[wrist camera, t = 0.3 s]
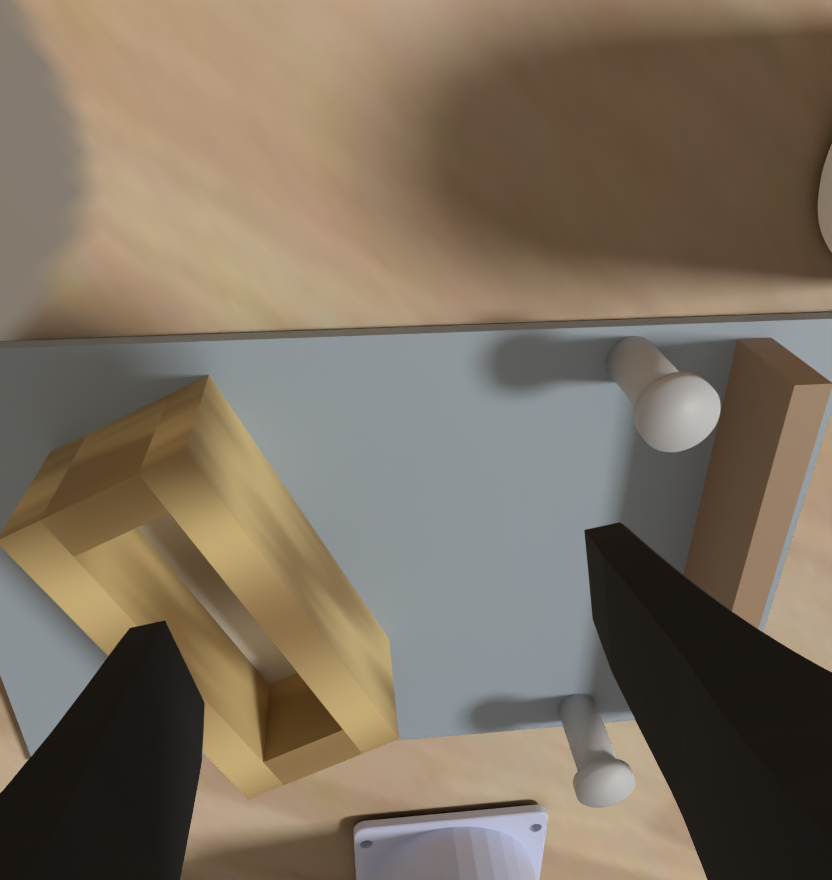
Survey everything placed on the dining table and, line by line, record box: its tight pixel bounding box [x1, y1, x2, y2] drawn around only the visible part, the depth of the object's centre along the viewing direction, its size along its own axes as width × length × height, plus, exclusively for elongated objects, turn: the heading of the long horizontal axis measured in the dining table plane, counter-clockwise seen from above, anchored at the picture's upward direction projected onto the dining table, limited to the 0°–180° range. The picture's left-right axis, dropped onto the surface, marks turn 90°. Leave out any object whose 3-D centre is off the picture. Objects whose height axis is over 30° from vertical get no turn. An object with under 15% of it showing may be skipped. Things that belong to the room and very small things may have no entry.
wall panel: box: [0, 312, 832, 808], centre depth 23 cm, size 16×26×4 cm, turn 90°
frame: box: [0, 375, 399, 799], centre depth 21 cm, size 11×5×4 cm, turn 25°
